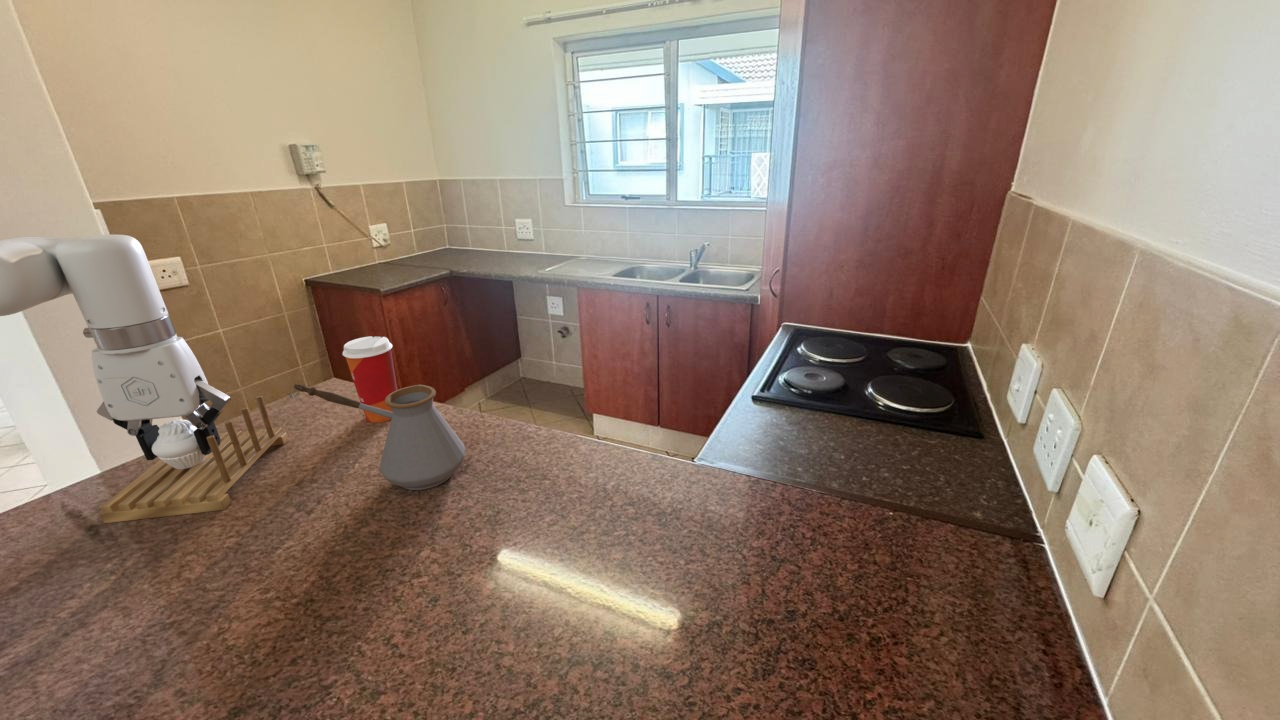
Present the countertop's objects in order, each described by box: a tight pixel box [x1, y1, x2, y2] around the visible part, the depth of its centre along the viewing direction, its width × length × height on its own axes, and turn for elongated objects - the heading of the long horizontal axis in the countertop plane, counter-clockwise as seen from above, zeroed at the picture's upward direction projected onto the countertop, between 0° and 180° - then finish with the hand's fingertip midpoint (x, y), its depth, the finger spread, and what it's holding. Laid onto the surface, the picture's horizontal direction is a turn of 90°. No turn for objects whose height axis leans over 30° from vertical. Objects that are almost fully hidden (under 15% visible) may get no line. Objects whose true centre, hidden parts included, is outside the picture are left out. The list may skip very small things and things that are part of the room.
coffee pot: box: [289, 383, 467, 491], centre depth 70 cm, size 21×12×15 cm, turn 92°
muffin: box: [152, 419, 205, 469], centre depth 71 cm, size 6×6×7 cm
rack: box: [99, 395, 289, 524], centre depth 72 cm, size 14×18×10 cm
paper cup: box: [341, 335, 398, 424], centre depth 87 cm, size 8×8×14 cm
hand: (184, 451), depth 71 cm, fingers closed on muffin, 6 cm apart
